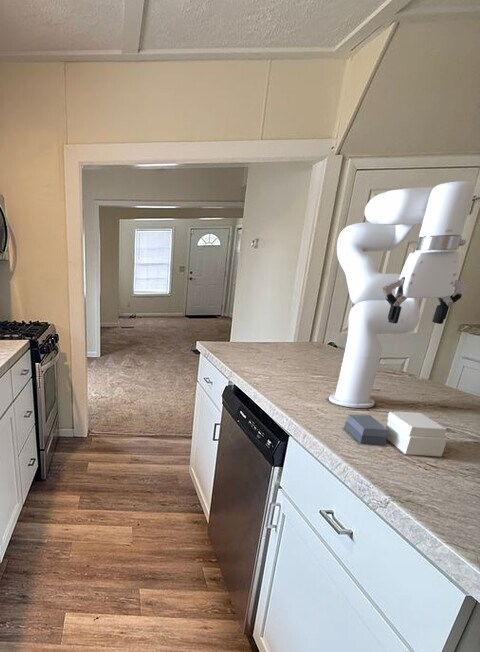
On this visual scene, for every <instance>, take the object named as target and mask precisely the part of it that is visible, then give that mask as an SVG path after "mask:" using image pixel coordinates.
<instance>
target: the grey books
mask: <svg viewBox="0 0 480 652" xmlns="http://www.w3.org/2000/svg"><path fill="white" fill-rule="evenodd" d="M343 428H344V429H345V431H347V432H348V433H349V434H350V435H351V436H352V437H353V438H354V439H355V440H356V441H357V442H358V443H359V444H365V445H380V446H384V445H385V444H386V441H387V439H386V438H387V437H386V436H387V432H388V429H387V428H386V426H384V425H383V424H382V423H381V422H379V420H377V419H375V418H374V416H372V415H369V414H368V415H367V414H347V418H346V420H345V422H344V427H343Z"/></svg>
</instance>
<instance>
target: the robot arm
mask: <svg viewBox="0 0 480 652" xmlns="http://www.w3.org/2000/svg"><path fill="white" fill-rule="evenodd" d="M475 192H476V184H475V182H473V181H471V180H456V181H455V180H454V181H449V182H443V183H440V184H437V185H435V186H427V187H426V186H425V187H409V188H398V189H391V190H388V191H384V192H381V193H378V194H377V195H375V196H374V197H372V198H371V199H370V200H369V201H368V202H367V203H366V206H365V208H364V216H365V219H366V220H367V221H366V222H364V221H363V222H356V223H353V224H349V225H347V226H345V227H344V228H343V229H342V230H341V232H340V233H339V234H338V236H337V237H338V238H337V242H336V256H337V260H338V262H339V265H340V267H341V269H342V270H343V272H344V274H345V278H346V283H347V284H346V285H347V288H348V294H349V299H350V301H351V302H352V304H354V305H353V306H352V307H351V308H350V311H349V313H348V324H347V325H348V326H347V338H346V339H347V340H346V343H345V349H344V352H343V353H344V354H343V359H342V363H341V368H340V372H339V375H338V376H339V377H338V381H337V386H336V389H335V393H333V394H331V395H329V396H328V400H329V402H331V403H332V404H335V405H337V406H342V407H346V408H353V409H368V408H372V407H374V406H375V400H373V399H372V398H371V395H372V391H373V387H374V383H375V379H376V376H377V372H378V368H379V363H380V360H381V355H382V351H383V349H382V344H381V342H380V340H379V339H378V336H377V335H381V334H390V335H391V334H392V335H394V334H395V335H397V334H399V335H402V334H407V333H411V332H412V331H414V330H415V329H416V328H417V326H418V324H419V323H420V319H421V309H420V305H419V301H418V299H437V301H438V303H439V304H437V306H436V307H435V311H434V313H433V317H432V320H431V321H432V323H434V324H438V325H442V324H444V321H445V320H446V319H447V315H448V312H449V309H450V307H453V305H454V304H455V303H456V302H457V301H459V300H460V299H462V296H463V295H464V294H465V293H466V292H467V291H468V290H469V286H468V285H467V284H466V283H463V282H461V281H460V280H458V279H457V275H458V269H459V263H460V251H458V249H459V247H463V246H465V245H466V242H467V241H466V240H467V239H463V236H462V234H463V231H464V228H465V224H466V221H467V218H468V215H469V211H470V209H471V206H472V201H473V198H474V196H475ZM420 224H421V228H420V232H419V235H418V238H417V242H416V245H415V249H414V252H410V253H409V255H408V257H407V258H406V261H405V263H404V265H403V268H402V270H401V273H383V272H380V271H379V268H378V267H379V266H378V264H377V262H376V261H375V259H374V258H373V257H372V256H370V255H369V254H367V252H369V253H370V252H390V251H391V252H392V251H394V250H396V249H397V248H399V247H400V246H401V245H402V243H403V242H404V241H405V240H406V238H408V236H409V235H410V234H411V232H412V231H413V230H414V228H415V227H416V226H417V225H420ZM454 288H455V289H456V290H455V292H454V293H452V292H453V290H454Z"/></svg>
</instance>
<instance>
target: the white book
mask: <svg viewBox="0 0 480 652" xmlns="http://www.w3.org/2000/svg"><path fill="white" fill-rule="evenodd" d="M386 420H387V421H390V422H391V423H393V424H394V425H395V426H397V427H398V428H400V429H401V430H402V431H404V432H405V433H406V434H408V435H409V436H423V437H441V438H444V437H445V435H446V431H447V428H446V427H444V426H443V425H441V424H440V423H438V422H436V421H434V420H433V419H431V418H429V417H428V416H426V415H425V414H423V413H422V412H409V411H408V412H406V411H388V415H387V419H386Z"/></svg>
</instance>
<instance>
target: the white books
mask: <svg viewBox="0 0 480 652" xmlns="http://www.w3.org/2000/svg"><path fill="white" fill-rule="evenodd" d="M385 428H387V429H388V432H387V436H386V437H387V438H386V440H387V441H388V442H390V443H391V444H392V445H394V446H395V447H396V449H398V450H399V451H400V452H402V453H403V454H404V455H410V456H411V455H413V456H427V457H428V456H429V457H443V453H444V450H445V448H446V444H447V441H448V438H446V437H445V436H444V438H441V437H423V436H409V435H408V434H406V433H405V432H404V431H402V430H401V429H400V428H398V427H397V426H395V425H394V424H393V423H391V422H390V421H389V420H387V423H386V426H385Z"/></svg>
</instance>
